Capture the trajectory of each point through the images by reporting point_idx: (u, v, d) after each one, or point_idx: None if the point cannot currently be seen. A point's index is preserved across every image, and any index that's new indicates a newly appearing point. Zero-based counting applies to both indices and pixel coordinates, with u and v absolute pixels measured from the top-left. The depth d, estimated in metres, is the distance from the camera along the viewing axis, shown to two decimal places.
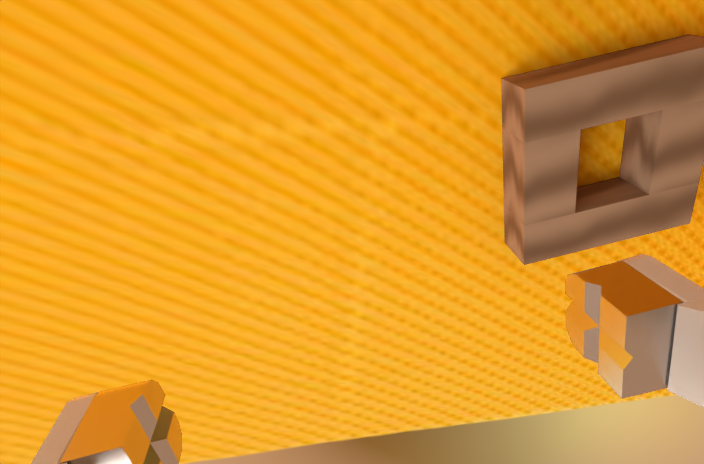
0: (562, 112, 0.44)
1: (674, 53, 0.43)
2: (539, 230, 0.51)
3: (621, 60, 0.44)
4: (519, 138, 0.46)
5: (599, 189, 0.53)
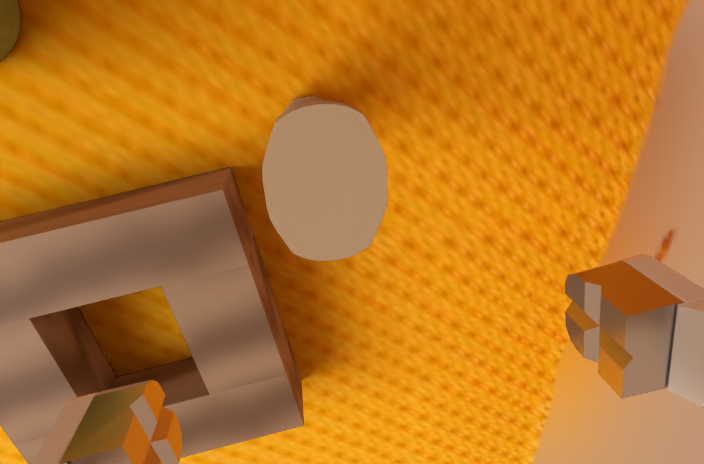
0: None
1: (136, 209, 0.28)
2: None
3: (78, 216, 0.29)
4: None
5: (172, 374, 0.37)
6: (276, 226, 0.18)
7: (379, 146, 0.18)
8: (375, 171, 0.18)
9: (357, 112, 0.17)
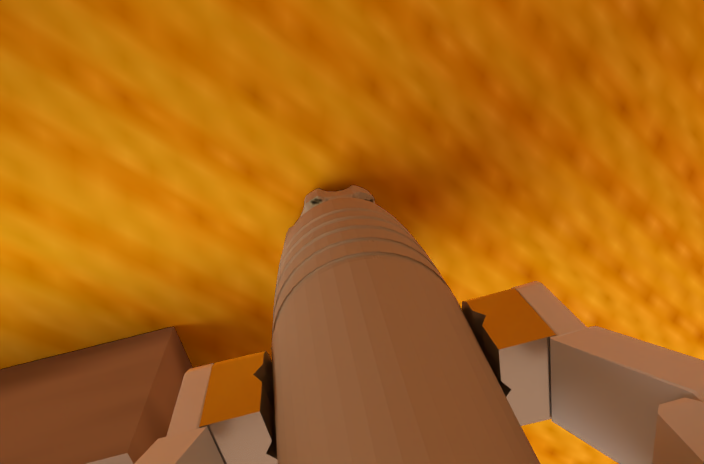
0: None
1: None
2: None
3: None
4: None
5: None
6: None
7: None
8: None
9: None
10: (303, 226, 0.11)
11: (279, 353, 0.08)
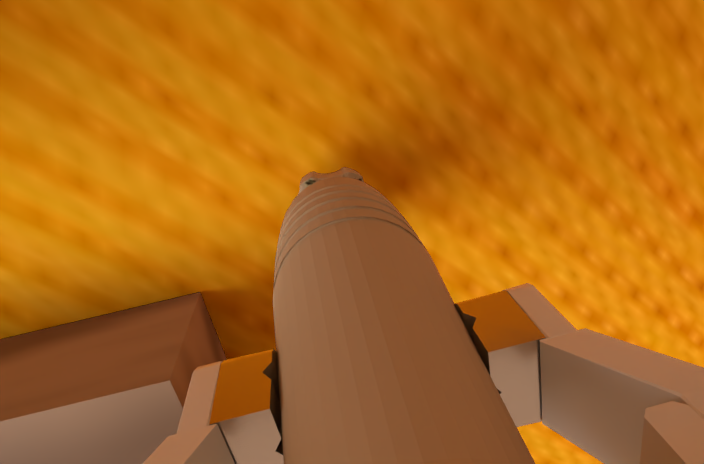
0: None
1: None
2: None
3: None
4: None
5: None
6: None
7: None
8: None
9: None
10: (298, 202, 0.13)
11: (278, 302, 0.09)
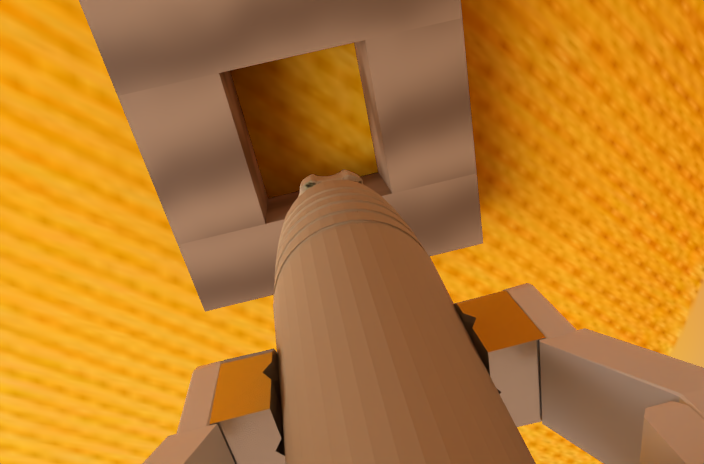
0: (170, 39, 0.25)
1: None
2: (210, 253, 0.30)
3: None
4: None
5: None
6: None
7: None
8: None
9: None
10: (298, 205, 0.13)
11: (279, 305, 0.09)
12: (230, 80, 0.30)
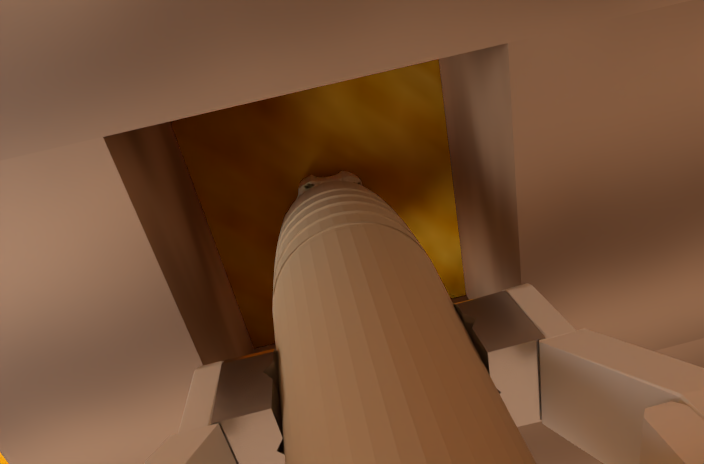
0: None
1: None
2: None
3: None
4: None
5: None
6: None
7: None
8: None
9: None
10: (297, 206, 0.12)
11: (278, 309, 0.09)
12: (162, 134, 0.13)
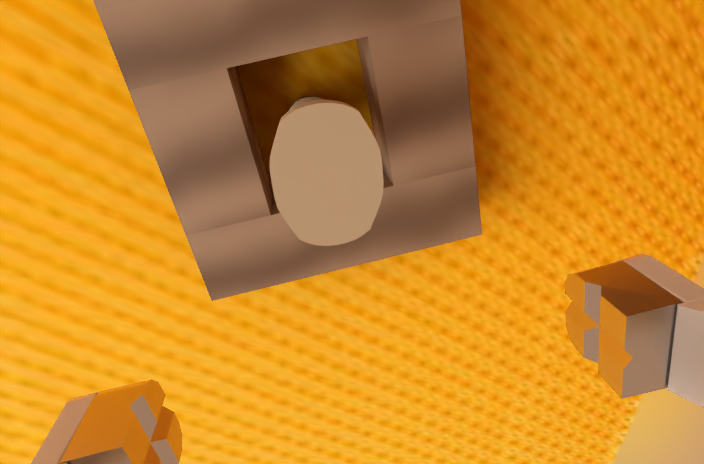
0: (179, 35, 0.26)
1: None
2: (216, 243, 0.31)
3: None
4: None
5: None
6: (284, 215, 0.20)
7: (374, 139, 0.20)
8: (371, 162, 0.20)
9: (353, 109, 0.19)
10: (293, 104, 0.30)
11: None
12: (236, 76, 0.31)
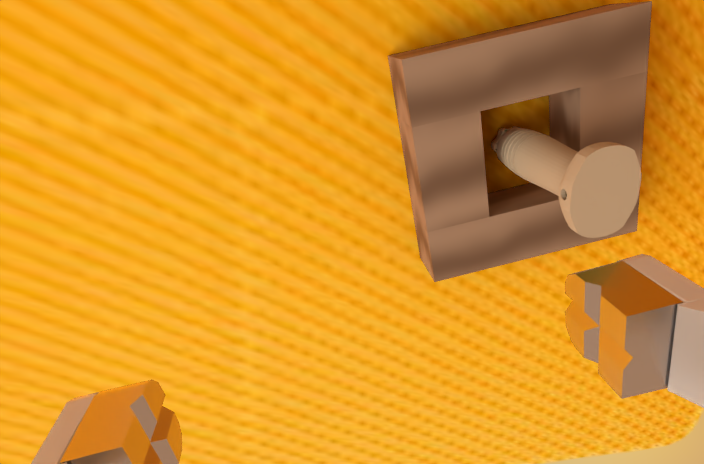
0: (454, 89, 0.36)
1: (584, 16, 0.36)
2: (447, 238, 0.42)
3: (524, 28, 0.37)
4: (408, 123, 0.38)
5: (524, 191, 0.45)
6: (572, 217, 0.31)
7: (639, 167, 0.30)
8: (634, 182, 0.30)
9: (631, 149, 0.29)
10: (510, 134, 0.41)
11: (523, 153, 0.37)
12: None
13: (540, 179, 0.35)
